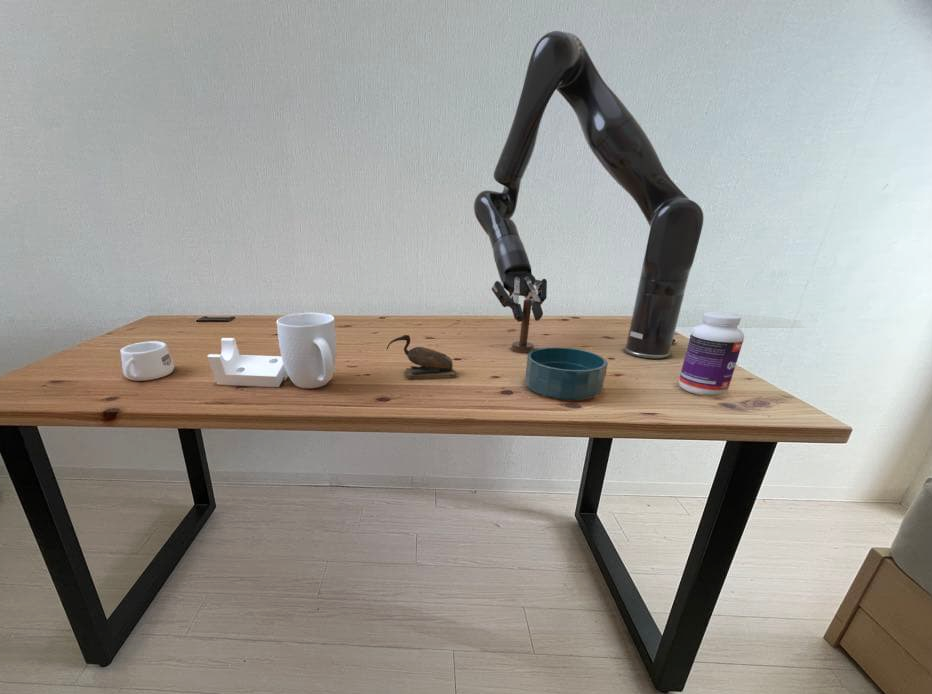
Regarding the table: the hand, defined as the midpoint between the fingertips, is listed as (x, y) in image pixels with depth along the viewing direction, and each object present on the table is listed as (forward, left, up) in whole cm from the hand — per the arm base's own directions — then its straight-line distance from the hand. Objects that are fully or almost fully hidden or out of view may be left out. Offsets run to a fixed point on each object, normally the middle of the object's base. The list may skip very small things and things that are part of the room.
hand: (530, 319), depth 105 cm
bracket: (+46, -42, -8) cm, 63 cm away
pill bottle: (+7, +36, -8) cm, 37 cm away
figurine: (+26, -14, -8) cm, 31 cm away
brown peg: (-1, -1, -8) cm, 8 cm away
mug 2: (+42, -30, -8) cm, 52 cm away
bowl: (+19, +13, -8) cm, 24 cm away
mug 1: (+56, -64, -8) cm, 86 cm away
